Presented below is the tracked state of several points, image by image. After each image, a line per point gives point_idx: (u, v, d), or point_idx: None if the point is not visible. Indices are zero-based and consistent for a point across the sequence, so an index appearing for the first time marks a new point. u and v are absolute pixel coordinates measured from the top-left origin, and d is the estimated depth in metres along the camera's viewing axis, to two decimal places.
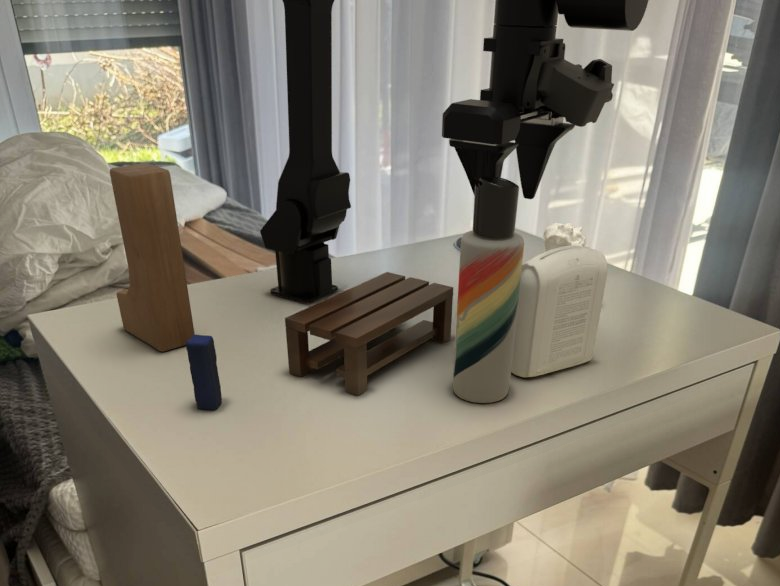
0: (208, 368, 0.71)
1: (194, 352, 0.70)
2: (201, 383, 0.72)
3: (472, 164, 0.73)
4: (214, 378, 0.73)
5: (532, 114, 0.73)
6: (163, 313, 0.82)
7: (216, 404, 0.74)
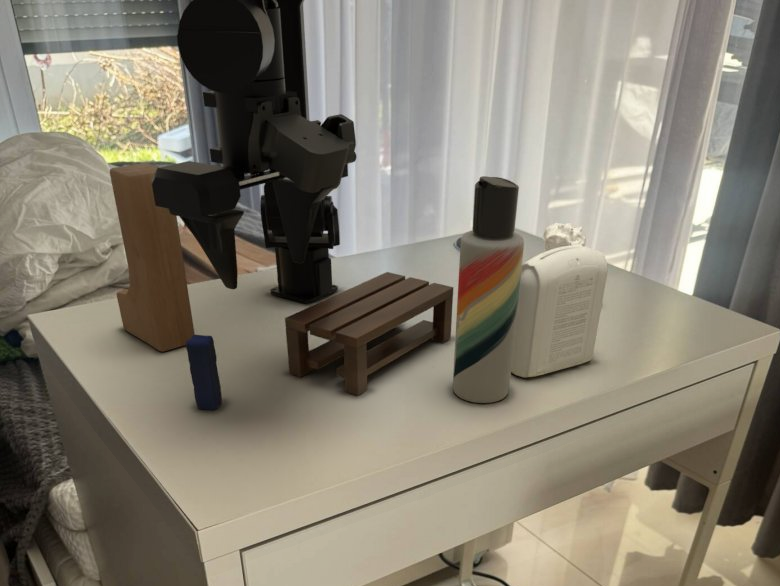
0: (208, 368, 0.71)
1: (194, 352, 0.70)
2: (201, 383, 0.72)
3: (201, 232, 0.64)
4: (214, 378, 0.73)
5: (270, 175, 0.65)
6: (163, 313, 0.82)
7: (216, 404, 0.74)
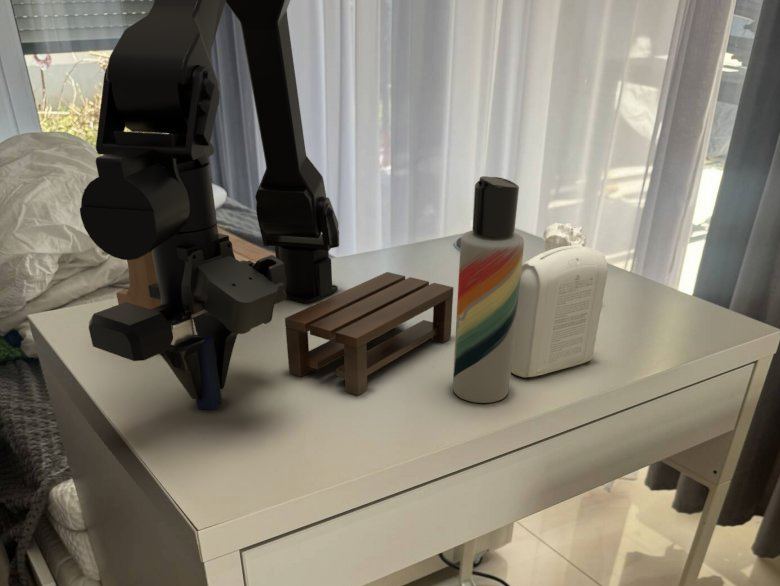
0: (208, 368, 0.71)
1: None
2: None
3: (167, 353, 0.70)
4: (214, 378, 0.73)
5: None
6: None
7: (216, 404, 0.74)
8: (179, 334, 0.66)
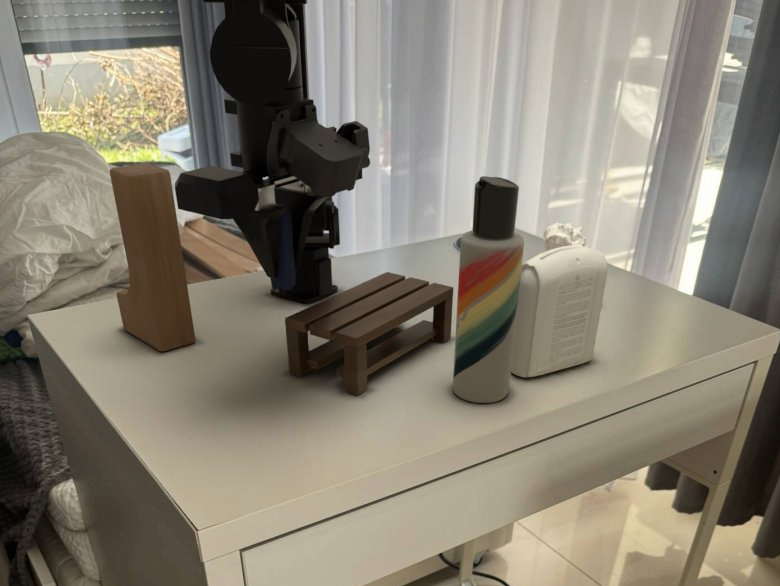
0: (286, 243, 0.71)
1: None
2: None
3: (246, 226, 0.69)
4: (290, 256, 0.72)
5: None
6: (163, 313, 0.82)
7: (291, 283, 0.73)
8: (263, 199, 0.66)
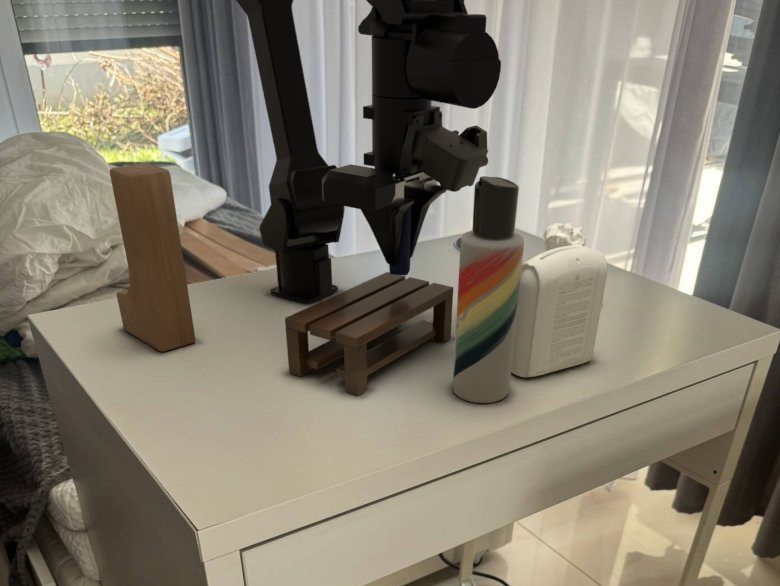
0: (407, 233, 0.80)
1: None
2: None
3: (374, 217, 0.78)
4: (408, 245, 0.81)
5: None
6: (163, 313, 0.82)
7: (407, 269, 0.83)
8: (395, 194, 0.75)
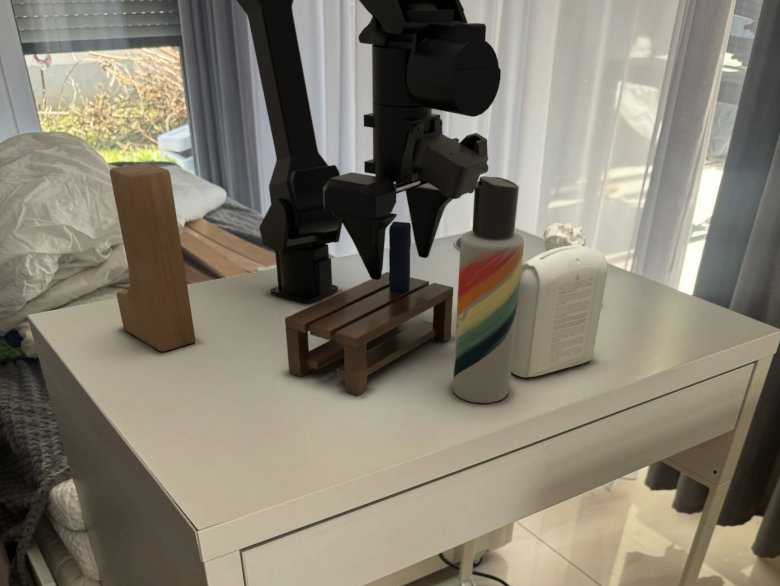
0: (406, 251, 0.81)
1: (396, 235, 0.80)
2: (398, 265, 0.82)
3: (356, 232, 0.77)
4: (408, 262, 0.83)
5: (414, 184, 0.77)
6: (163, 313, 0.82)
7: (407, 286, 0.84)
8: None
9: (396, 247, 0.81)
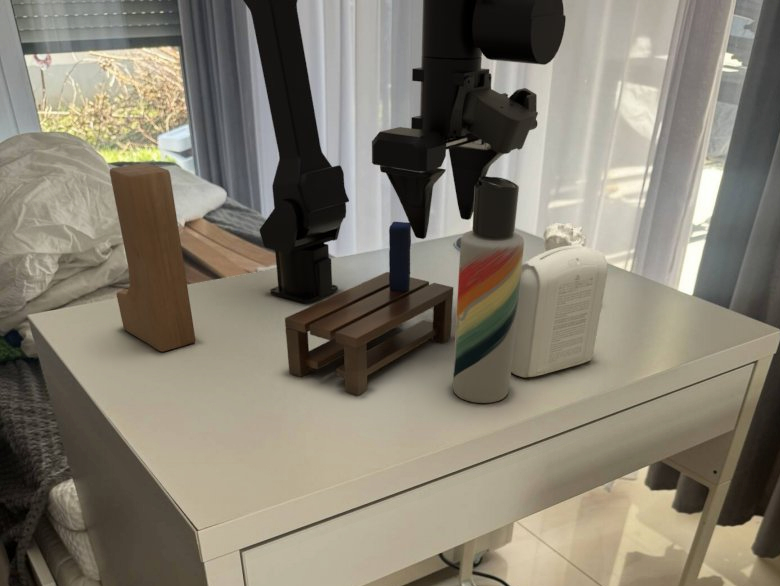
0: (406, 251, 0.81)
1: (396, 235, 0.80)
2: (398, 265, 0.82)
3: (403, 188, 0.76)
4: (408, 262, 0.83)
5: (461, 140, 0.76)
6: (163, 313, 0.82)
7: (407, 286, 0.84)
8: None
9: (396, 247, 0.81)
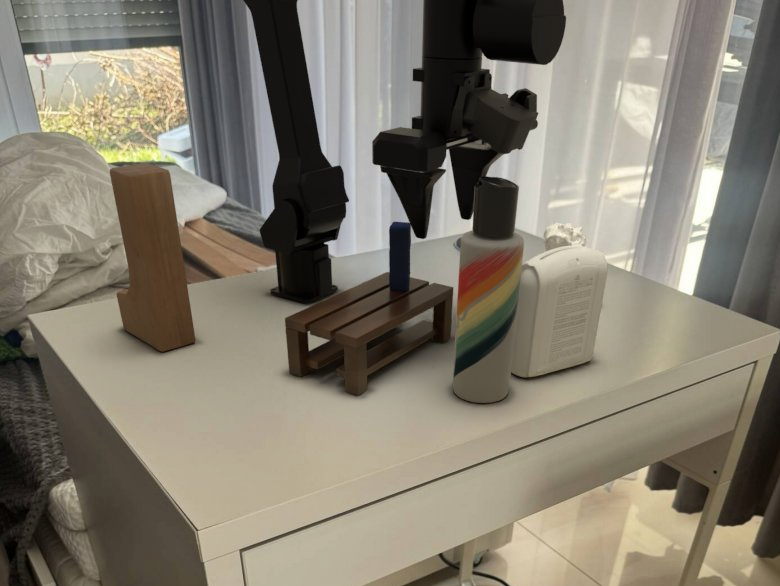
0: (406, 251, 0.81)
1: (396, 235, 0.80)
2: (398, 265, 0.82)
3: (404, 189, 0.76)
4: (408, 262, 0.83)
5: (462, 140, 0.76)
6: (163, 313, 0.82)
7: (407, 286, 0.84)
8: None
9: (396, 247, 0.81)
